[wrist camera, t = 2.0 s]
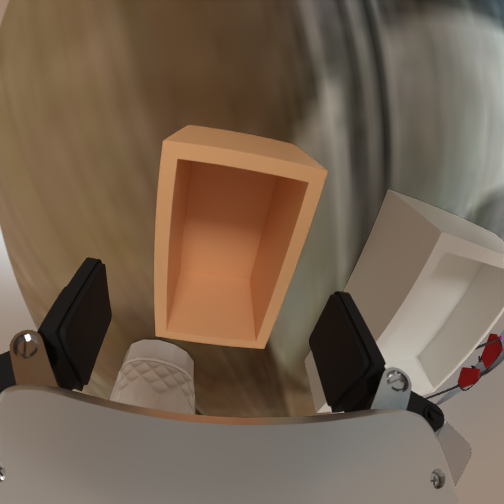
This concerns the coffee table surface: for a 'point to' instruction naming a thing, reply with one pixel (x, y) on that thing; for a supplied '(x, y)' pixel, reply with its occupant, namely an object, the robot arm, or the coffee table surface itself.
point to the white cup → (156, 377)
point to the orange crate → (229, 233)
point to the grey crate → (424, 291)
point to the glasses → (488, 356)
